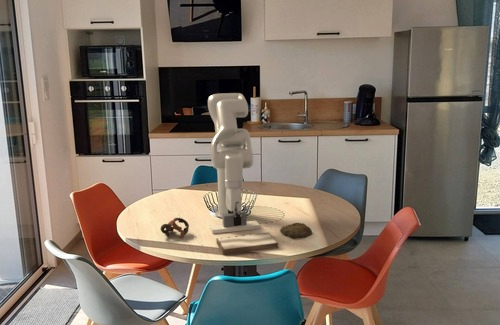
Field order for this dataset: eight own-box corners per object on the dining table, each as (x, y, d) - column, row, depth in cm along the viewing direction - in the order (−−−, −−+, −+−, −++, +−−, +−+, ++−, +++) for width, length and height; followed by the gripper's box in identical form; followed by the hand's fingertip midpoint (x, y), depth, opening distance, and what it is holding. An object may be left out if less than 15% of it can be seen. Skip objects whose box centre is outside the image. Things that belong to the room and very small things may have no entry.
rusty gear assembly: (177, 230, 207) (185, 215, 204) (186, 245, 201) (194, 230, 198) (153, 230, 199) (161, 215, 196) (162, 245, 193) (170, 230, 190)
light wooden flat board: (216, 243, 191) (216, 237, 190) (268, 237, 196) (268, 231, 196) (223, 254, 179) (223, 249, 179) (278, 248, 185) (278, 242, 185)
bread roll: (292, 241, 193) (292, 229, 191) (276, 232, 203) (276, 221, 202) (318, 235, 198) (318, 224, 197) (301, 226, 209) (301, 215, 208)
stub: (209, 228, 206) (209, 214, 205) (255, 223, 212) (255, 209, 210) (212, 233, 201) (211, 218, 199) (259, 228, 206) (259, 214, 205)
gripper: (220, 179, 209) (221, 216, 213) (230, 189, 193) (230, 229, 196) (237, 178, 211) (237, 214, 215) (248, 188, 195) (248, 227, 198)
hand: (234, 221), depth 205 cm, fingers open, 9 cm apart
